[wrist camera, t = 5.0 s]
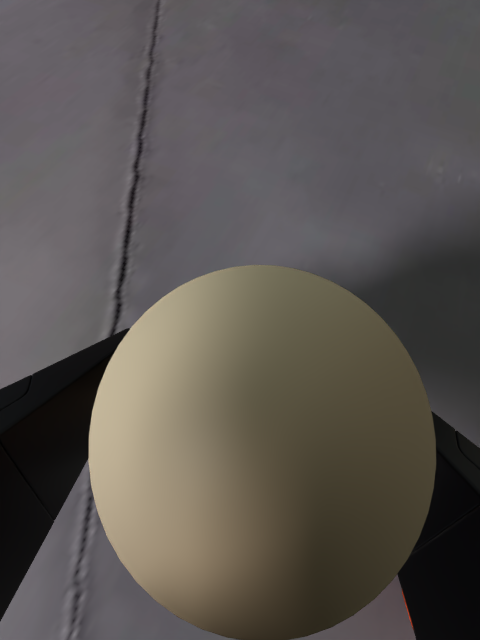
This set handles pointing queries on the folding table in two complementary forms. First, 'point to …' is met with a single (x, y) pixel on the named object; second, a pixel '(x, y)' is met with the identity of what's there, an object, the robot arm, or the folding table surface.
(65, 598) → the folding table surface
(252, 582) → the ball
